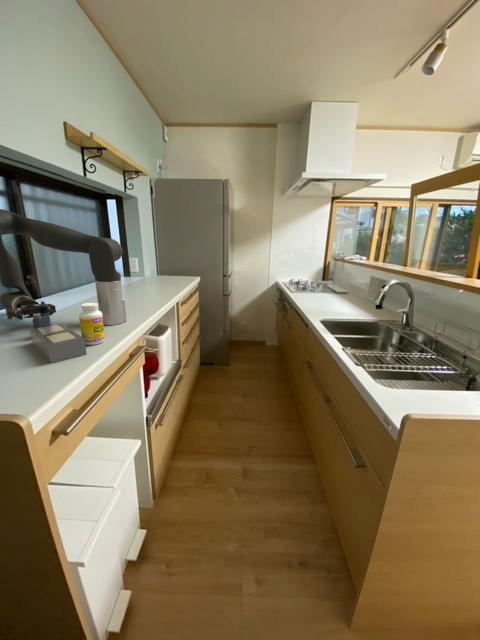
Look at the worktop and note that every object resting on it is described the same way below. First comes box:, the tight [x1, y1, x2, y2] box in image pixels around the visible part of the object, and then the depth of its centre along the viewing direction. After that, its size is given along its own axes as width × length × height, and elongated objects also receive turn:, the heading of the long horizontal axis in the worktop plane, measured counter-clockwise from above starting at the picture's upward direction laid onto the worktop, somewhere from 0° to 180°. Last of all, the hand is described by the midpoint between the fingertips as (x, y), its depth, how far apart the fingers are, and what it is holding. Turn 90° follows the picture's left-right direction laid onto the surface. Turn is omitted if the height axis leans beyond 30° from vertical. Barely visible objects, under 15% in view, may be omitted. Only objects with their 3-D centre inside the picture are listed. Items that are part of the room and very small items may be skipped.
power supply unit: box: [28, 323, 88, 364], centre depth 82 cm, size 9×20×5 cm, turn 48°
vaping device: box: [32, 301, 52, 328], centre depth 90 cm, size 3×5×12 cm, turn 161°
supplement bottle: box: [78, 302, 106, 346], centre depth 87 cm, size 7×7×13 cm
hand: (36, 314), depth 94 cm, fingers open, 8 cm apart
